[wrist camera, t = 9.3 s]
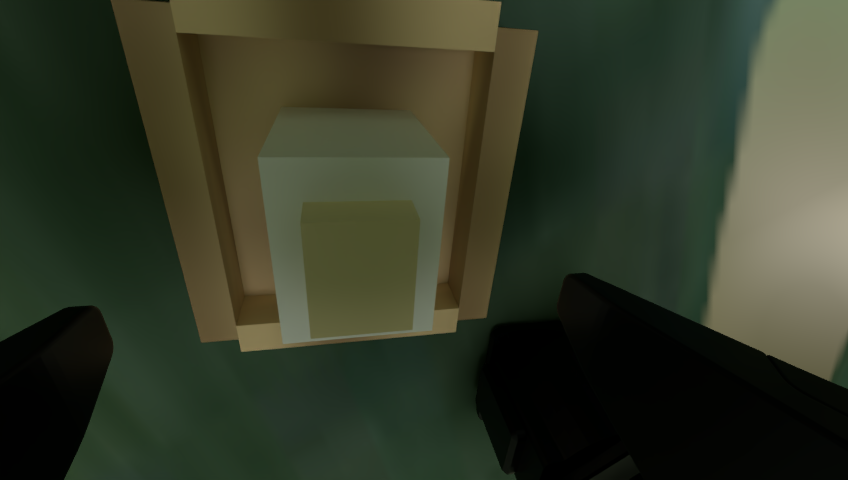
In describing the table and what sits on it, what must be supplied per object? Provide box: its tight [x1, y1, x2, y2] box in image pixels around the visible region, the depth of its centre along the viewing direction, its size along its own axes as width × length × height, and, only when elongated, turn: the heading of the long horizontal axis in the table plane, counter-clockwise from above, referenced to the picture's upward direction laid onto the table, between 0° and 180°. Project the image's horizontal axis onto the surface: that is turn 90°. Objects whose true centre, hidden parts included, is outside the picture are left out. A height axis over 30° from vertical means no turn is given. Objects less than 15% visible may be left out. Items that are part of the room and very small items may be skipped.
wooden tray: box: [111, 0, 538, 352], centre depth 14 cm, size 10×11×2 cm
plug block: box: [258, 107, 450, 344], centre depth 11 cm, size 4×5×6 cm
